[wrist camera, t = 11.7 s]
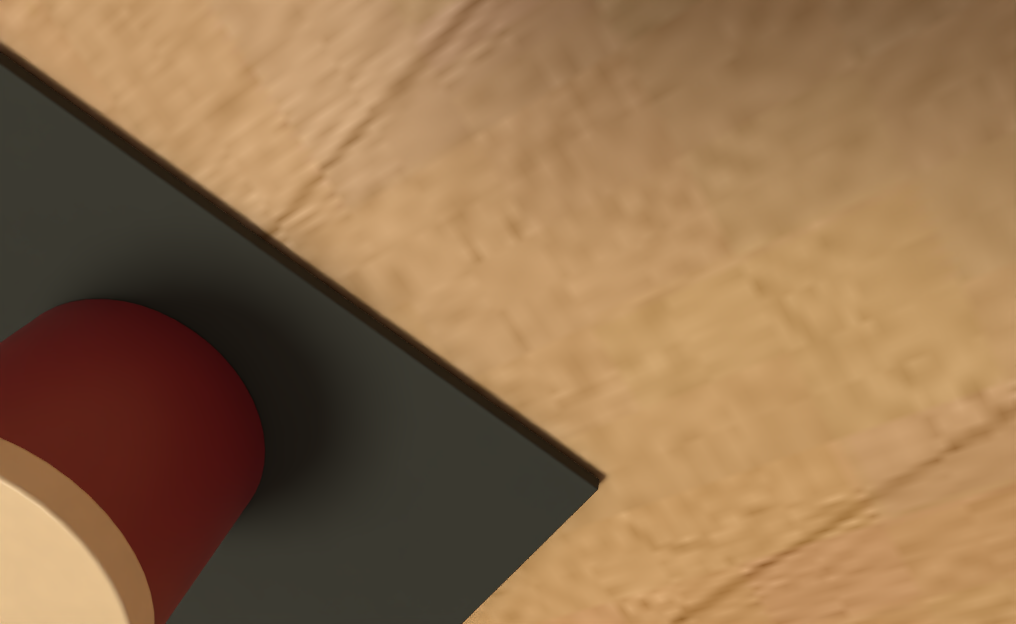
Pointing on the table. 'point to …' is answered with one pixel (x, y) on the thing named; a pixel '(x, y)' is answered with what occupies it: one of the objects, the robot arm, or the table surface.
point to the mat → (283, 391)
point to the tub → (116, 463)
